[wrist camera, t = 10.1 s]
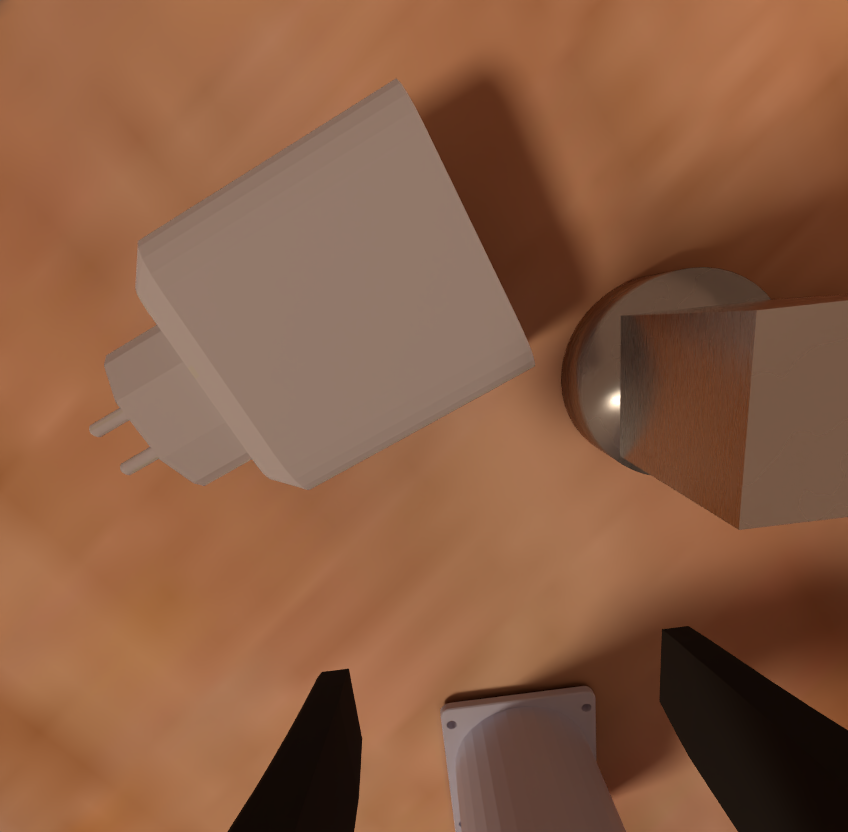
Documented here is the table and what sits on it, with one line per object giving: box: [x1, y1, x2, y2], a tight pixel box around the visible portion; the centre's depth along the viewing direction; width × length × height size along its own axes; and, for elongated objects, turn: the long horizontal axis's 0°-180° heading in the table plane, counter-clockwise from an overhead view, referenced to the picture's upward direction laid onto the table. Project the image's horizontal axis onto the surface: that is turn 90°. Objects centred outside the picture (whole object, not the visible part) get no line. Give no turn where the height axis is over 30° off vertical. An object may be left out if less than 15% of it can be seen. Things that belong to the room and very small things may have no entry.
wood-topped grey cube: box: [620, 294, 848, 530], centre depth 12 cm, size 5×5×6 cm
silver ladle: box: [561, 267, 770, 475], centre depth 15 cm, size 8×19×5 cm, turn 97°
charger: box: [89, 79, 535, 490], centre depth 14 cm, size 5×9×15 cm
